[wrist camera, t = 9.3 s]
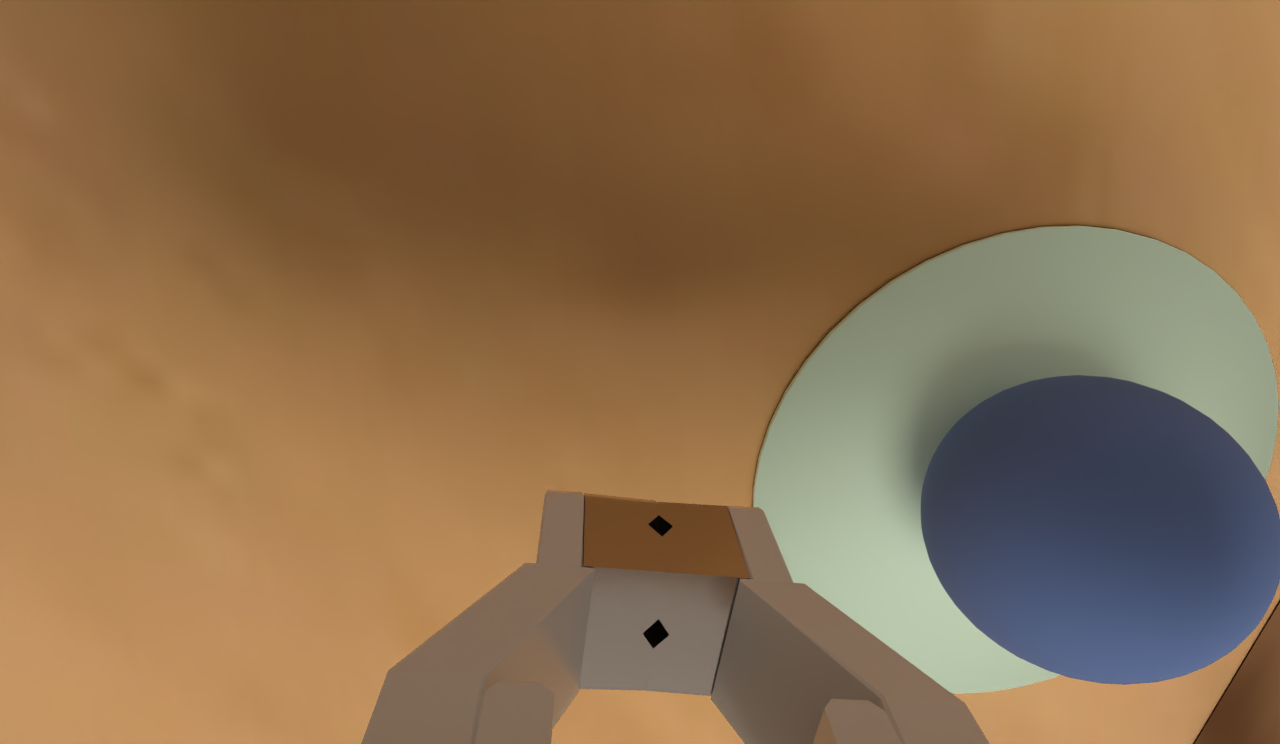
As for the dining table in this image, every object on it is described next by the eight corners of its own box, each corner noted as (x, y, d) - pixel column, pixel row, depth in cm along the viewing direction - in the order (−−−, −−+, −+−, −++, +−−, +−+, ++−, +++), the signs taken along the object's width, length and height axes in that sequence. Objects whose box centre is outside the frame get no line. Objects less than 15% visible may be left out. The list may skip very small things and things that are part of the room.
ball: (1366, 375, 12) (1035, 344, 17) (1181, 441, 9) (858, 380, 15) (1328, 682, 13) (1028, 563, 18) (1153, 817, 10) (862, 633, 16)
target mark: (830, 178, 14) (833, 178, 14) (1374, 275, 15) (1383, 277, 15) (704, 665, 18) (705, 670, 18) (1136, 706, 20) (1141, 712, 20)
